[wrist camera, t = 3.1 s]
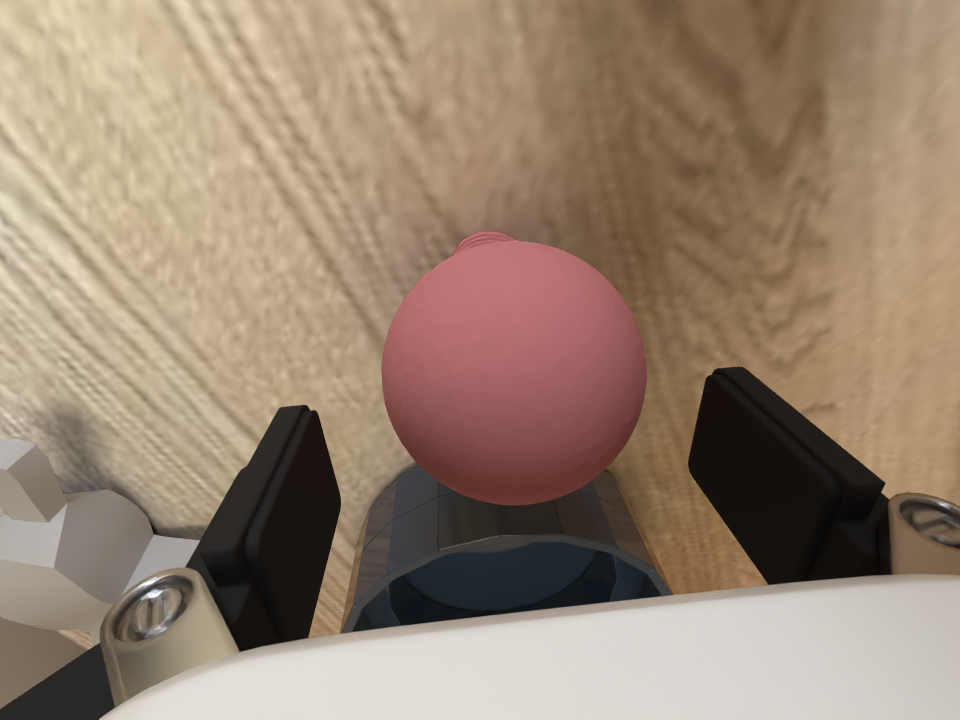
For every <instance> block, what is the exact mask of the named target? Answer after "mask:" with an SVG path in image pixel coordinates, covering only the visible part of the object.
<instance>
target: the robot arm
mask: <svg viewBox="0 0 960 720" xmlns="http://www.w3.org/2000/svg"><path fill="white" fill-rule="evenodd" d="M688 467H689V471H690V473H691V475H692V477H693V478H694V480H695V481H696V483H697V484H698V485H699V487H700V488H701V490H702V491H703V492H704V494H705V495H706V497H707V498H708V499H709V501H710V502H711V504H712V505H713V507H714V508H715V509H716V511H717V512H718V514H719V515H720V516H721V518H722V519H723V521H724V522H725V524H726V525H727V526H728V528H729V529H730V531H731V532H732V533H733V535H734V536H735V538H736V539H737V541H738V542H739V543H740V545H741V546H742V548H743V549H744V550H745V552H746V553H747V555H748V556H749V557H750V559H751V560H752V562H753V563H754V565H755V566H756V567H757V569H758V570H759V572H760V573H761V574H762V576H763V577H764V579H765V580H766V582H767V583H768V584H769V585H765V586H755V587H746V588H736V589H727V590H717V591H708V592H698V593H689V594H679V595H670V596H661V597H652V598H642V599H633V600H624V601H615V602H606V603H597V604H588V605H579V606H570V607H561V608H552V609H543V610H534V611H525V612H516V613H508V614H499V615H491V616H482V617H473V618H465V619H456V620H448V621H439V622H431V623H422V624H413V625H405V626H396V627H388V628H381V629H373V630H366V631H358V632H351V633H343V634H336V635H328V636H321V637H313V638H308V636H309V632H310V628H311V624H312V620H313V616H314V612H315V608H316V604H317V600H318V596H319V592H320V588H321V584H322V580H323V576H324V572H325V568H326V564H327V561H328V557H329V553H330V549H331V545H332V541H333V537H334V533H335V529H336V525H337V521H338V517H339V513H340V508H341V497H340V492H339V489H338V485H337V481H336V478H335V474H334V470H333V467H332V463H331V459H330V456H329V452H328V448H327V445H326V441H325V437H324V434H323V430H322V426H321V423H320V419H319V416H318V413H317V411H315V410H312V411H310V409H309V408H308V406H307V405H299V406H288V407H281V408H279V410H278V411H277V413H276V415H275V417H274V418H273V420H272V422H271V424H270V426H269V427H268V429H267V431H266V433H265V435H264V436H263V438H262V440H261V442H260V444H259V445H258V447H257V449H256V451H255V453H254V455H253V456H252V458H251V460H250V462H249V464H248V465H247V467H245V468H243V469H241V471H240V472H239V473H238V475H237V476H236V478H235V480H234V482H233V484H232V485H231V487H230V489H229V491H228V492H227V494H226V496H225V498H224V499H223V501H222V503H221V505H220V506H219V508H218V510H217V512H216V514H215V515H214V517H213V519H212V521H211V522H210V524H209V526H208V528H207V529H206V531H205V533H204V535H203V536H202V538H201V540H200V542H199V544H198V545H197V547H196V549H195V551H194V552H193V554H192V556H191V558H190V559H189V561H188V563H187V565H186V566H185V567H182V568H171V569H167V570H164V571H160V572H158V573H155V574H153V575H151V576H149V577H147V578H145V579H143V580H142V581H140V582H139V583H137V584H136V585H134V586H133V587H131V588H130V589H129V590H127V591H126V592H125V593H124V594H123V595H122V596H121V597H120V598H119V599H118V600H117V601H116V602H115V603H114V604H113V606H112V607H111V608H110V610H109V611H108V612H107V614H106V615H105V618H104V620H103V622H102V624H101V627H100V643H98V644H97V645H95V646H94V647H92V648H91V649H89V650H88V651H86V652H85V653H83V654H82V655H80V656H79V657H77V658H76V659H75V660H73V661H71V662H70V663H68V664H67V665H66V666H64V667H63V668H61V669H59V670H58V671H56V672H55V673H54V674H52V675H51V676H49V677H48V678H46V679H45V680H43V681H42V682H40V683H39V684H37V685H36V686H34V687H33V688H31V689H30V690H28V691H27V692H25V693H24V694H22V695H21V696H19V697H18V698H16V699H15V700H13V701H12V702H10V703H9V704H7V705H6V706H4V707H3V708H1V709H0V720H960V506H958V505H956V504H954V503H952V502H949V501H946V500H944V499H941V498H938V497H935V496H931V495H926V494H922V493H909V492H906V493H901V494H896V495H895V496H893V497H892V498H890V499H888V498H887V497H886V496H884V495H883V494H882V493H881V491H882V489H883V487H884V485H885V482H884V481H882V480H881V479H880V478H879V477H877V476H876V475H875V474H874V473H873V472H871V471H870V470H869V469H868V468H866V467H865V466H864V465H863V464H862V463H860V462H859V461H858V460H857V459H855V458H854V457H853V456H852V455H851V454H849V453H848V452H847V451H846V450H844V449H843V448H842V447H841V446H840V445H838V444H837V443H836V442H835V441H833V440H832V439H831V438H830V437H829V436H827V435H826V434H825V433H824V432H822V431H821V430H820V429H819V428H818V427H816V426H815V425H814V424H813V423H811V422H810V421H809V420H808V419H806V418H805V417H804V416H803V415H802V414H800V413H799V412H798V411H797V410H795V409H794V408H793V407H792V406H791V405H789V404H788V403H787V402H786V401H784V400H783V399H782V398H781V397H780V396H778V395H777V394H776V393H775V392H773V391H772V390H771V389H770V388H769V387H767V386H766V385H765V384H764V383H762V382H761V381H760V380H759V379H758V378H756V377H755V376H754V375H753V374H751V373H750V372H749V371H748V370H746V369H745V368H743V367H729V368H718V369H716V370H714V371H713V373H712V375H709V376H708V377H707V378H706V381H705V385H704V389H703V394H702V399H701V404H700V408H699V413H698V418H697V422H696V427H695V432H694V436H693V441H692V446H691V450H690V455H689V460H688Z"/></svg>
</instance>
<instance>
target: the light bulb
mask: <svg viewBox="0 0 960 720" xmlns="http://www.w3.org/2000/svg"><path fill="white" fill-rule="evenodd" d="M646 380H647V376H646V359H645V353H644V347H643V341H642V338H641V335H640V332H639V329H638V327H637V324H636V322H635V319H634V317H633V315H632V312H631V310H630V308H629V307H628V305H627V304H626V302H625V301H624V299H623V298H622V296H621V295H620V293H619V292H618V291H617V290H616V288H615V287H614V286H613V285H612V284H611V283H610V282H609V281H608V280H607V279H606V278H605V277H604V276H603V275H602V274H601V273H600V272H599V271H598V270H596V269H595V268H593V267H592V266H590V265H589V264H588V263H586V262H584V261H583V260H581V259H579V258H578V257H576V256H575V255H573V254H570V253H568V252H565V251H563V250H561V249H558V248H554V247H551V246H548V245H545V244H540V243H533V242H526V241H516V240H514V239H513V238H511V237H509V236H508V235H505V234H503V233H499V232H492V231H485V232H479V233H475V234H473V235H471V236H469V237H467V238H466V239H464V240H463V241H462V242H461V243H460V244H459V245H458V246H457V247H456V249H455V250H454V251H453V253H452V255H451V257H450V258H448V259H446V260H445V261H443V262H441V263H440V264H438V265H437V266H436V267H435V268H433V269H432V270H431V271H429V272H428V273H427V274H425V275H424V276H423V277H422V278H421V279H420V280H419V281H418V282H417V283H416V284H415V285H414V287H413V288H412V289H411V290H410V292H409V293H408V294H407V296H406V297H405V299H404V300H403V302H402V304H401V305H400V307H399V309H398V310H397V312H396V314H395V316H394V319H393V321H392V323H391V326H390V328H389V330H388V334H387V338H386V342H385V346H384V352H383V360H382V386H383V393H384V400H385V405H386V408H387V412H388V415H389V418H390V420H391V423H392V425H393V428H394V430H395V432H396V433H397V435H398V437H399V439H400V441H401V443H402V444H403V446H404V447H405V448H406V450H407V451H408V452H409V454H410V455H411V456H412V458H413V459H414V460H415V461H416V462H417V463H418V464H419V465H420V466H421V467H422V468H423V469H424V470H425V471H426V472H427V473H428V474H429V475H431V476H432V477H433V478H435V479H436V480H437V481H439V482H440V483H442V484H443V485H445V486H447V487H448V488H450V489H452V490H454V491H456V492H458V493H460V494H462V495H464V496H467V497H470V498H473V499H477V500H480V501H483V502H488V503H493V504H499V505H529V504H535V503H540V502H545V501H548V500H552V499H556V498H559V497H561V496H564V495H566V494H569V493H571V492H573V491H575V490H577V489H579V488H581V487H582V486H584V485H586V484H587V483H588V482H590V481H591V480H592V479H594V478H595V477H596V476H598V475H599V474H600V473H601V472H602V471H604V470H605V469H606V468H607V467H608V466H609V465H610V464H611V463H612V462H613V461H614V459H615V458H616V457H617V455H618V454H619V453H620V452H621V450H622V449H623V448H624V446H625V445H626V443H627V441H628V440H629V438H630V437H631V434H632V432H633V430H634V428H635V426H636V424H637V422H638V419H639V415H640V412H641V408H642V405H643V401H644V395H645V388H646Z"/></svg>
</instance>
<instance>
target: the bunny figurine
mask: <svg viewBox="0 0 960 720" xmlns="http://www.w3.org/2000/svg"><path fill="white" fill-rule="evenodd" d="M0 508H1V509H2V510H3V511H4V512H5V513H4V514H2V515H0V617H2V618H4V619H7V620H11V621H15V622H18V623H22V624H26V625H33V627H38V628H43V629H48V630H69V629H78V630H84V631H89V634H90V637H91V639H92V642H93V644H94V645H97V644H98V643H100V627H101V624H102V622H103V620H104V618H105V615H106V614H107V612H108V611H109V610H110V608H111V607H112V606H113V604H114V603H115V602H116V601H117V600H118V599H119V598H120V597H121V596H122V595H123V594H124V593H125V592H126V591H127V590H129V589H130V588H131V587H133V586H134V585H136V584H137V583H139V582H140V581H142V580H143V579H145V578H147V577H149V576H151V575H153V574H155V573H158V572H160V571H164V570H167V569H171V568H182V567H185V566H186V565H187V563H188V561H189V559H190V558H191V556H192V554H193V552H194V551H195V549H196V547H197V545H198V544H199V542H200V540H191V539H181V538H171V537H164V536H158V535H154V534H153V531H152V528H151V525H150V522H149V519H148V517H147V516H146V515H145V514H144V513H143V512H142V511H141V510H140V509H139V508H138V507H137V506H136V505H135V504H133V503H132V502H130V501H129V500H128V499H126V498H125V497H123V496H121V495H119V494H117V493H115V492H113V491H111V490H109V489H100V490H94V491H86V492H78V493H70V494H63V492H62V489H61V487H60V485H59V482H58V480H57V478H56V476H55V473H54V471H53V469H52V466H51V464H50V462H49V459H48V457H47V456H46V455H45V454H44V453H43V452H42V451H41V450H40V449H39V448H38V447H37V446H36V445H34V444H31V443H28V442H25V441H22V440H20V439H0Z"/></svg>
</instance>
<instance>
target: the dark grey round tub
mask: <svg viewBox="0 0 960 720" xmlns="http://www.w3.org/2000/svg"><path fill="white" fill-rule="evenodd" d="M670 595H674V594H673V592H672V590H671V588H670V585H669V583H668V581H667V579H666V577H665V575H664V573H663V571H662V569H661V566H660V564H659V562H658V560H657V558H656V556H655V554H654V552H653V550H652V547H651V545H650V543H649V541H648V539H647V537H646V535H645V533H644V530H643V528H642V526H641V524H640V522H639V520H638V518H637V516H636V514H635V511H634V509H633V507H632V505H631V503H630V502H629V500H628V499H627V497H626V496H625V494H624V492H623V491H622V489H621V488H620V486H619V485H618V483H617V482H616V480H615V479H614V477H613V476H611V475H610V474H608V473H607V472H605V471H602V472H601V473H600V474H599V475H598V476H596V477H595V478H594V479H592V480H591V481H590V482H588V483H587V484H586V485H584V486H582V487H581V488H579V489H577V490H575V491H573V492H571V493H569V494H566V495H564V496H561V497H559V498H556V499H552V500H548V501H545V502H540V503H535V504H529V505H499V504H493V503H488V502H483V501H480V500H477V499H473V498H470V497H467V496H464V495H462V494H460V493H458V492H456V491H454V490H452V489H450V488H448V487H447V486H445V485H443V484H442V483H440V482H439V481H437V480H436V479H435V478H433V477H432V476H431V475H429V474H428V473H427V472H426V471H425V470H424V469H423V468H422V467H421V466H420V465H419V466H417V467H415V468H413V469H412V470H410V471H408V472H406V473H404V474H402V475H401V476H399V477H398V478H397V479H396V480H395V481H394V482H393V483H392V484H391V485H390V486H389V487H388V488H387V489H386V490H385V491H384V492H383V493H382V494H381V495H380V496H379V497H378V499H377V500H376V501H375V502H374V503H373V504H372V505H371V507H370V509H369V511H368V514H367V516H366V519H365V521H364V524H363V526H362V529H361V532H360V534H359V537H358V543H357V548H356V553H355V558H354V563H353V568H352V573H351V578H350V583H349V588H348V593H347V598H346V604H345V609H344V614H343V619H342V624H341V629H340V634H343V633H351V632H358V631H366V630H373V629H381V628H388V627H396V626H405V625H413V624H422V623H431V622H439V621H448V620H456V619H465V618H473V617H482V616H491V615H499V614H508V613H516V612H525V611H534V610H543V609H552V608H561V607H570V606H579V605H588V604H597V603H606V602H615V601H624V600H633V599H642V598H652V597H661V596H670Z"/></svg>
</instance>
